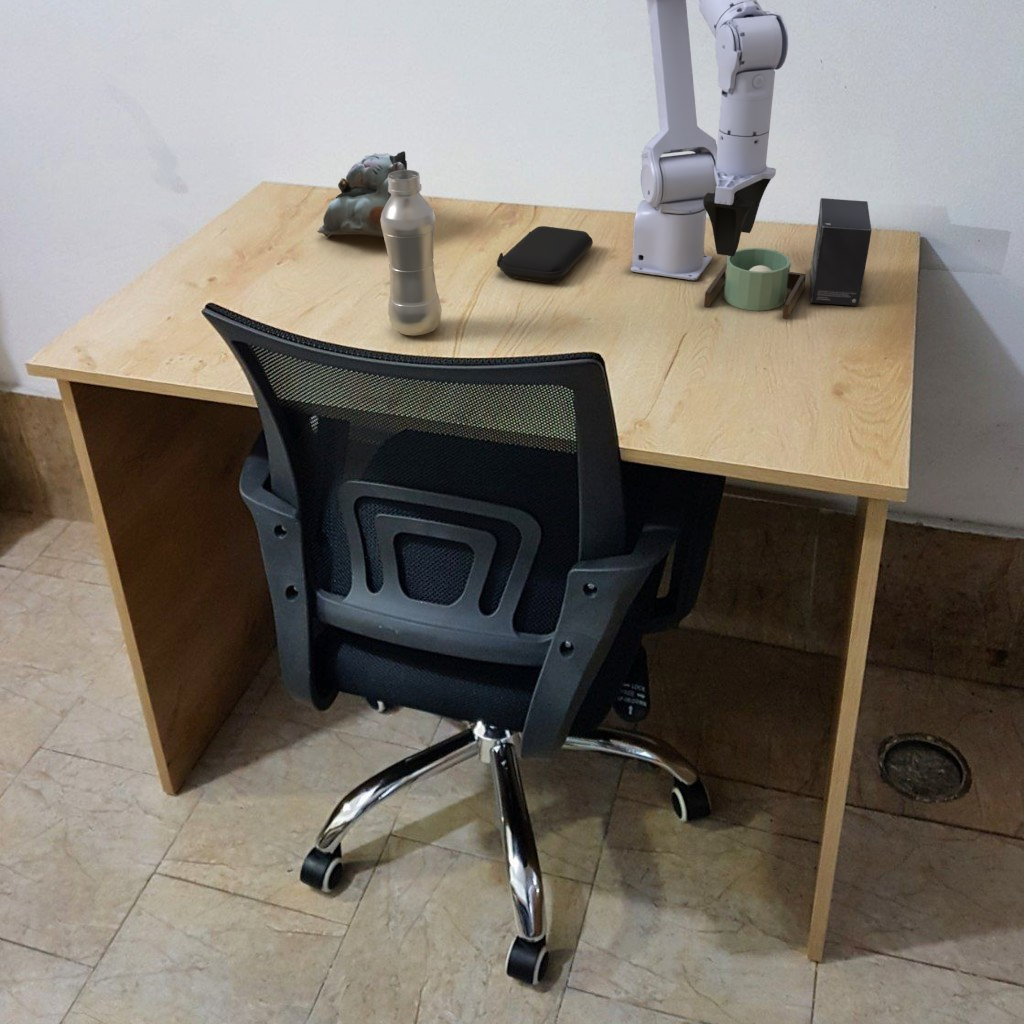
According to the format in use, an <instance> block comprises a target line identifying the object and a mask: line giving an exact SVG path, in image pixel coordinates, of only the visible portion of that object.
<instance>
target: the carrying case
mask: <svg viewBox="0 0 1024 1024" xmlns="http://www.w3.org/2000/svg"><path fill="white" fill-rule="evenodd" d="M593 244H594V241H593V237H591V236H590V235H589V233H588V232H587V231H584V230H579V229H578V230H577V229H570V228H569V229H568V228H563V227H554V226H547V225H540V226H536V227H535V228H533V229H532V230H531V231H528V233H527V234H526V235H525V236H524V237H523V238H522V239H520V240H519V241H518V242H517V243H516V244H515V245H514V246H513V247H511V249H510V250H509V251H507V252H506V253H505V254H504V253H503V252H501V253H499V256H498V258H497V261H496V267H497V268H499V269H500V272H502V273H503V274H504V275H505V276H506V277H508V278H511V279H519V280H527V281H534V282H538V283H539V282H540V283H546V284H554V283H555V284H556V283H558V282H560V281H561V280H562V279H563V278H564V277H565V276H566V275H567V274H568V273H569V272H570V271H571V270H572V269H573V268H574V267H575V266H576V264H577V263H578V262H579V261H580V260H581V259H582V258H584V256H585V255H586V253H587V252H588V251H590V249H591V248H592V246H593Z"/></svg>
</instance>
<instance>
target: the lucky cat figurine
mask: <svg viewBox="0 0 1024 1024" xmlns="http://www.w3.org/2000/svg"><path fill="white" fill-rule="evenodd" d="M406 158H407V157H406V151H405V150H402V151H400V152H397V154H396V155H392V154H389V153H373V154H370V155H365V156H364V158H362V159H361V160H360V161H358V162H356V163H354V164H353V165H352V166H351V168H350V169H349V170H348V172H347V174H346V176H345V177H344V178H340V180H339V182H338V184H337V187H338V189H339V190H340V192H341V193H339V194H337V195H336V197H335V199H334V200H332V201H330V202H329V204H328V207H327V209H326V211H325V212H324V215H323V219H322V220H323V225H322V226H320V227H319V228H318V230H316V232H317V233H318V234H323V235H324V236H325V237H329V236H331V235H364V236H370V237H380V238H384V235H383V231H382V227H381V221H380V219H381V214H382V211H383V209H384V207H385V205H386V203H387V201H388V200H389V198H390V197H391V193H389V191H388V186H389V184H388V174H390V173H391V172H394V171H399V170H408V162H407V160H406Z"/></svg>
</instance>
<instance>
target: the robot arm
mask: <svg viewBox="0 0 1024 1024" xmlns="http://www.w3.org/2000/svg"><path fill="white" fill-rule="evenodd" d="M646 5H647V13H648V23H649V33H650V44H651V53H652V63H653V65H652V66H653V73H654V74H653V75H654V84H655V95H656V107H657V115H658V117H657V118H658V126H659V130H658V132H657V133H656V134H655V135H654V136H653V137H652V138H651V139H650V140H649V141H648V142H647V143H646V145H644V147H643V148H642V150H641V154H640V160H641V161H640V163H641V165H640V166H641V169H640V175H639V176H640V177H639V179H640V180H639V181H640V182H639V183H640V191H641V195H642V198H643V199H642V200H641V201H640V202H639V204H638V206H637V208H636V211H635V215H634V218H633V219H634V220H633V227H632V228H633V230H632V231H633V232H632V233H633V234H632V260H631V261H632V265H631V267H630V271H631V272H634V273H637V274H638V273H639V274H646V275H653V276H659V277H660V276H661V277H668V278H675V279H680V280H688V281H697V280H698V279H699V278H700V277H701V275H702V274H703V273H704V271H705V270H706V269H707V267H708V265H709V264H710V263H711V261H712V259H713V257H712V255H707V254H704V253H705V240H706V239H705V238H706V228H707V227H706V225H707V215H708V217H709V220H710V224H711V228H712V233H713V239H714V247H715V251H716V254H717V255H720V256H726V257H728V256H734V255H735V253H736V251H737V250H738V247H739V244H740V240H741V235H742V233H744V234H745V233H746V234H750V233H751V232H752V230H753V228H754V225H755V221H756V218H757V214H758V211H759V208H760V204H761V201H762V198H763V196H764V194H765V191H766V190H767V188H768V186H769V184H770V182H771V180H772V179H774V178H775V176H776V174H777V173H776V172H777V168H775V167H769V166H768V165H767V159H768V156H767V155H768V149H769V148H768V147H769V137H770V129H771V119H772V108H773V99H774V98H773V97H774V89H775V80H776V79H775V78H776V77H775V76H776V71H777V70H780V69H781V68H782V67H783V66H784V64H785V62H786V59H787V56H788V50H789V34H788V27H787V24H786V22H785V20H784V18H783V16H782V14H781V13H779V12H771V11H770V10H763V8H762V6H761V5H760V3H759V1H758V0H698V10H699V12H700V13H701V15H702V17H703V19H704V21H705V22H706V25H707V26H708V28H709V30H710V32H711V33H712V35H713V37H714V39H715V42H714V43H715V45H714V47H715V49H714V50H715V51H714V52H715V60H716V64H717V65H716V66H717V85H718V87H719V88H720V89H721V90H720V91H721V93H720V106H719V107H720V108H719V120H718V121H719V122H718V132H717V133H718V134H717V141H716V139H715V138H714V137H713V136H712V135H710V134H708V133H707V132H706V131H704V130H703V129H701V128H700V127H699V126H698V120H697V119H698V118H697V108H696V96H695V85H694V75H693V64H692V53H691V51H692V50H691V43H690V42H691V41H690V33H689V31H690V29H689V18H688V7H687V0H646ZM683 152H692V153H684V154H677V153H683ZM674 153H676V154H677V155H676V154H675V155H668V156H662V155H667V154H674Z"/></svg>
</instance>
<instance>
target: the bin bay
mask: <svg viewBox="0 0 1024 1024" xmlns="http://www.w3.org/2000/svg"><path fill="white" fill-rule="evenodd" d="M725 271H726V263H724V265H723V267H722V268H721V270H719V273H718V274H717V275H716V276H715V278H714V279H713V280H712V282H711V284H710V285H709V287H707V289H706V291H705V293H704V304H703V305H704V308H709V307H710V306H711V305H712V303H713V302H714V300H715V299H716V297H717V296H718V295H719V293H720V291H721V290H722V288H724V283H725ZM806 276H807V274H806V273H802V272H794V271H790V273H789V281H788V288H790V289H791V291H790V293H789V295H788V296H787V298H786V301H785V303H784V304H783V313H782V319H784V320H788V318H789V317H790V315H791V313H792V311H793V309H794V308H795V306H796V304H797V302H798V301H799V298H800V297H801V295H802V292H803V291H804V289H805V285H806Z"/></svg>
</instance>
